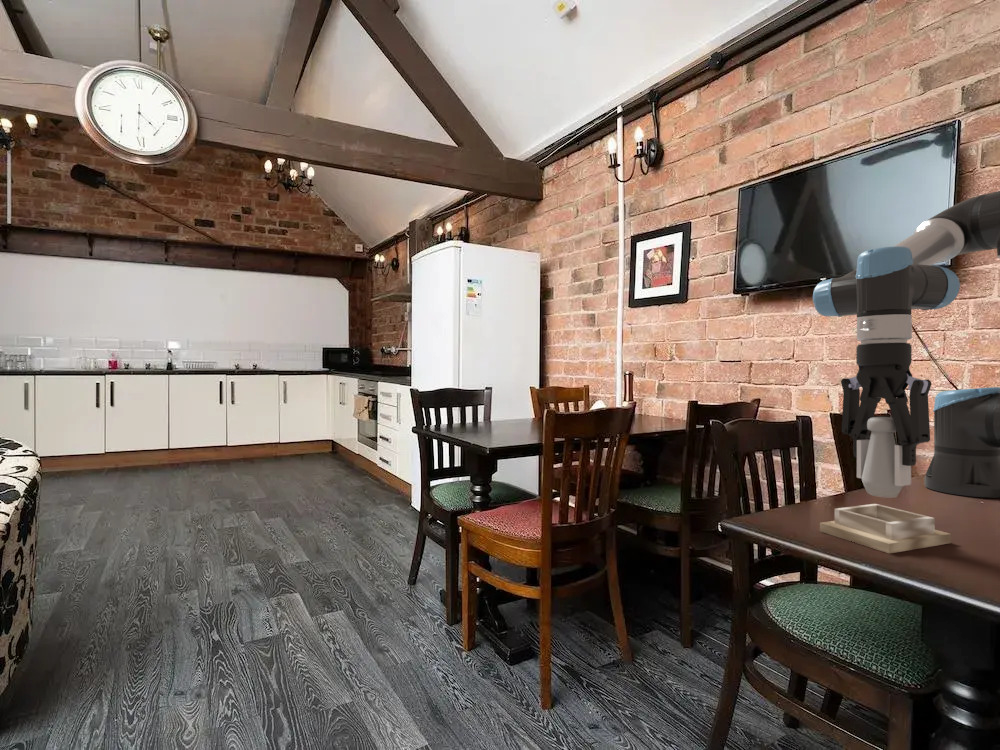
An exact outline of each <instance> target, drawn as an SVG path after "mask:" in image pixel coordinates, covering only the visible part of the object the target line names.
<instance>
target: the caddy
mask: <svg viewBox="0 0 1000 750" xmlns="http://www.w3.org/2000/svg"><path fill="white" fill-rule="evenodd" d="M935 519H936V518H935V517H933V516H932V517H931V516H930V515H929V516H927V515H925V514H920V513H916V512H912V511H907V510H903V509H899V508H897V507H896V508H894V507H891V506H887V505H882V504H878V503H870V504H863V505H862V504H860V505H854V506H846V507H838V508H834V520H830V521H824V522H819V532H821V533H824V534H827V535H830V536H832V537H836V538H839V539H843V540H846V541H848V542H851V541H852V543H854V542H855V544H858V545H861V546H865V547H867V548H871V549H872V550H873V549H874V550H877V551H879V552H884V554H885V553H887V554H894V553H901V552H906V551H912V550H913V551H914V550H918V549H924V548H931V547H936V546H941V545H943V546H944V545H948V544H951V543H952V534H951V533H949V532H946V531H945V532H944V531H942V530H938V529H935V528H936V527H935V524H936V521H935Z"/></svg>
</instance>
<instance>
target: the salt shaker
mask: <svg viewBox="0 0 1000 750" xmlns="http://www.w3.org/2000/svg"><path fill="white" fill-rule="evenodd" d="M867 428H868V430H869V432H870V435H869V436H870V438H869V439H870V441H869V446H868V450H867V455H866V460H865V465H864V469H863V474H862V478H861V481H862V484H863V487H864V488H865V491H866V493H867V494H868V495H870V496H873V497H878V498H886V499H887V498H890V499H891V498H892V499H894V498H897V497H898V496H899V494H900V492H901V491H902V489H903V488H904V486H896V485H895V445H897V443H896V440H895V435H894V434H895V433H897V431H896V427H895V424H894V421H893V417H889V416H874V417H872V418H870V419H868V421H867Z"/></svg>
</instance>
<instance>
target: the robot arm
mask: <svg viewBox="0 0 1000 750" xmlns="http://www.w3.org/2000/svg"><path fill="white" fill-rule="evenodd" d="M995 249H996V255H997V258H998V259H1000V190H998V191H994V192H990V193H984V194H980V195H976V196H973V197H971V198H968V199H967V198H966V199H965V200H963V201H961V202H958V203H956V204H953V206H950V207H948V208H947V209H945V210H943V211H940V212H939V213H938V214H935V215H934V216H932V217H930V218H929V219H927V220H925V221H923V222H922V223H920V225H918V226H917V228H916V229H915V230H914V231H913V234H911V235H910V236H908V237H907V238H905V239H903V240H902V241H900V242H898V243H896V244H895V245H893V246H884V247H877V248H871V249H868V250H865V251H863V252H862V253H860V254H859V255H858V257H857V260H856V261H857V263H856V269H854V270H852V271H849V273H846V274H845V275H843V276H841V277H832V278H830V279H825V280H822V281H820V282H818V283H817V284H816V286H815V287H814V288H813V294H812V303H813V305H814V309H815V310H816V312H817V313H818V314H819V315H820V316H824V317H828V318H829V317H838V318H841V317H847V316H856V340H857V341H859V342H860V343H859V344H857V346H856V353H855V355H856V359H855V360H856V366H858V371H857V373H856V375H855V376H853V377H849V378H848V377H846V378H842V379H841V380H840V384H841V387H842V390H843V394H842V395H843V397H842V398H843V400H842V417H841V418H842V420H841V433H842V434H843V435H848V436H849V437H851V438H852V445H853V446H852V455H853V457H854V458H856V478H857V479H862V474H863V469H864V465H865V460H866V455H867V450H868V446H869V441H870V436H871V435H869V434H870V430H868V428H867V421H868V419H870V418H872V417H875V415H876V410H877V408H878V404H879V403H880V402H881V401H882V399H884V401H885V403H886V404H887V405H888V407H889V410H890V414H891V418H893V421H894V424H895V427H896V431H897V432H896V434H897V437H898V440H899V441H898V442H896V445H895V485H896V486H903V487H905V486H910V485H912V467H913V466H916V463H917V446H918V445H919V444H923V443H928V442H929V443H930V442H931V427H930V409H929V393H930V390H931V387H932V381H931V380H930V379H920V378H917V377H914V376H913V374H912V373H911V370H910V367H911V364H912V360H913V359H912V354H913V353H912V351H913V350H912V348H913V347H912V346H913V345H912V344H911V343H909V342H908V341H909V340H911V339H913V329H912V328H913V326H912V325H913V322H912V321H913V319H912V310H922V311H928V310H930V311H932V310H938V309H942V308H944V307H947V306H949V305H950V304H952V303H953V302H954V300H955V299H956V298H957V297H958V295H959V291H960V287H961V282H960V278H959V277H958V275H957V274H956V272H954V271H953V270H952V269H950V268H947V267H943V266H940V265H936V264H937V263H941V262H947V261H949V260H951V259H953V258H955V257H957V256H960V255H966V254H969V253H974V252H975V253H976V252H982V251H990V250H995ZM860 388H862V389H861V391H860ZM906 389H907V390H908V391H909V399H908V396H907V393H906ZM908 402H909V405H908ZM908 406H909V407H908ZM932 411H933V438H934V439H933V445H934V447H933V448H934V449H933V456H932V458H931V461H930V463H929V465H928V467H927V470H926V473H925V475H924V487H925V488H927V489H928V490H929V489H930V490H933V491H936V492H941V493H946V494H951V495H957V496H965V497H973V498H974V497H975V498H989V499H990V498H991V499H993V498H994V499H998V498H1000V386H995V387H992V386H991V387H979V388H966V389H965V388H964V389H963V388H962V389H952V390H951V389H950V390H944V391H940V392H939V393H937V394H936V395H935V397H934V406H933V410H932Z"/></svg>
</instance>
